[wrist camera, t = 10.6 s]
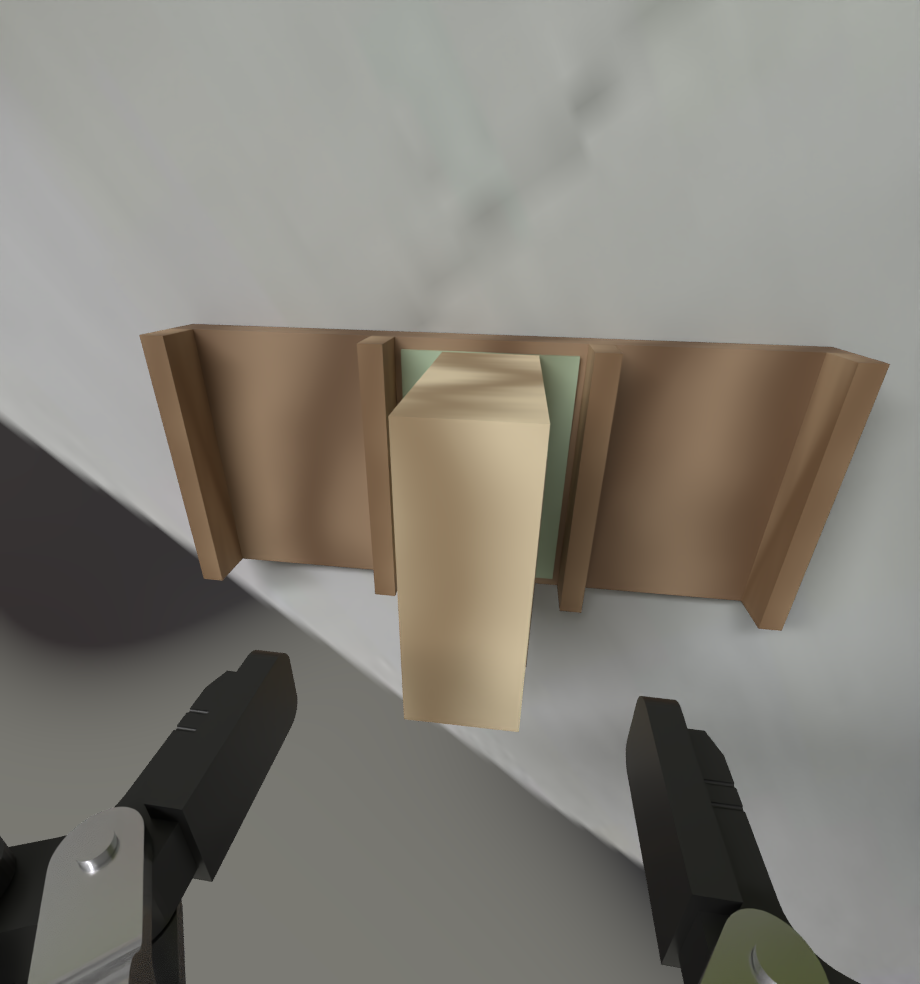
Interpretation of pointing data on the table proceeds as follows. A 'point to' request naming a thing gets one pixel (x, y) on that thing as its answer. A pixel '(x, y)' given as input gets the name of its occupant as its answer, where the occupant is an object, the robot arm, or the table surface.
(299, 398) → the notched rack
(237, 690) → the robot arm
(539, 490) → the tall beige wooden block
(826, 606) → the table surface
